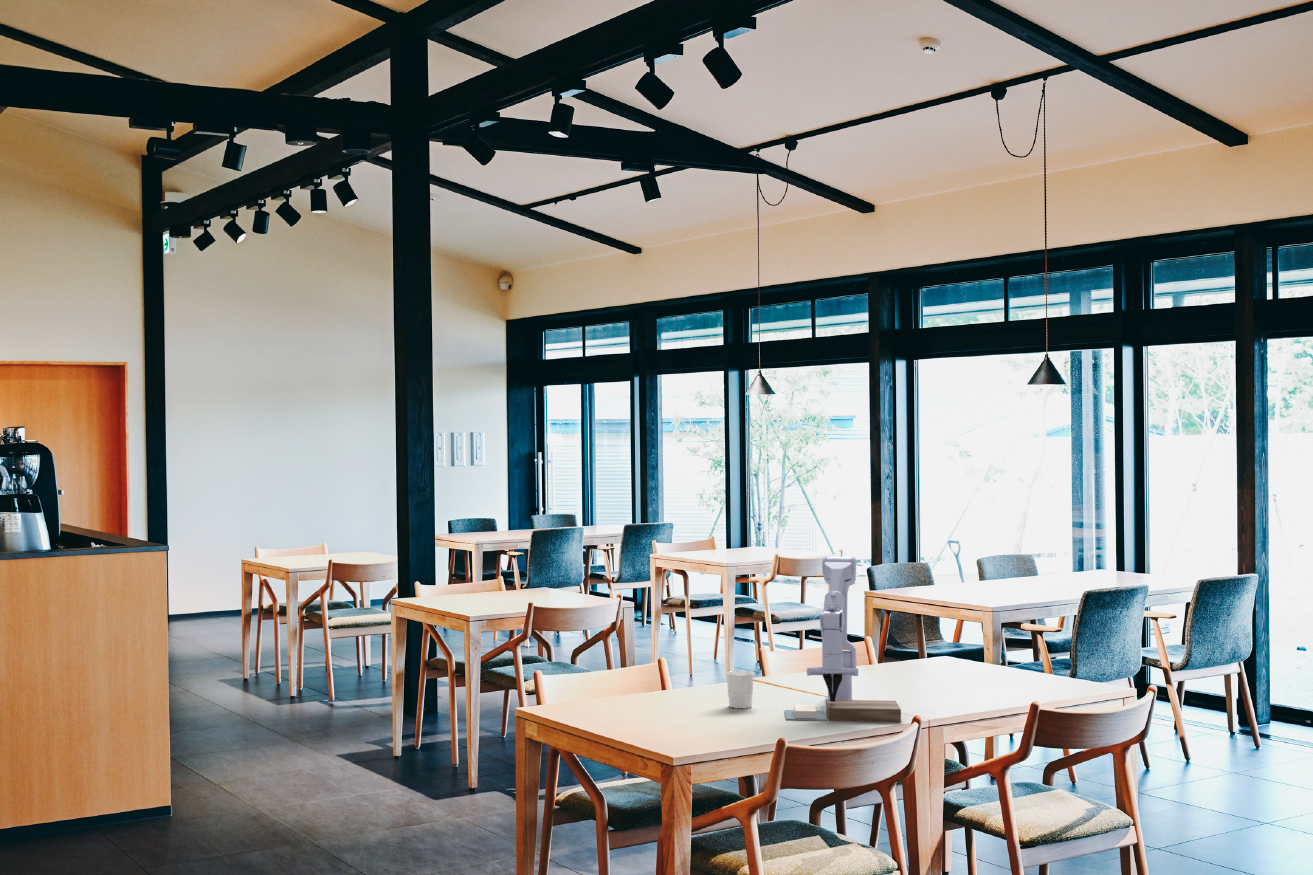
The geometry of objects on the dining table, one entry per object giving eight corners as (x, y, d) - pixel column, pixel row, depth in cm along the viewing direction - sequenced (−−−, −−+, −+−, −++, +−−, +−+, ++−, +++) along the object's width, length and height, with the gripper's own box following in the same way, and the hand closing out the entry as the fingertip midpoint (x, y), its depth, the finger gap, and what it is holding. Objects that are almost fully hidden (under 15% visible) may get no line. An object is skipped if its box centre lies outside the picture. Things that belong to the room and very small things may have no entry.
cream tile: (814, 704, 338) (815, 711, 338) (794, 704, 338) (794, 711, 338) (816, 711, 329) (816, 718, 329) (795, 710, 329) (795, 717, 329)
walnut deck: (826, 711, 339) (826, 699, 339) (895, 712, 337) (895, 700, 337) (828, 720, 327) (828, 708, 327) (900, 721, 325) (900, 709, 325)
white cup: (738, 710, 341) (738, 676, 342) (721, 705, 348) (721, 672, 348) (759, 706, 346) (758, 673, 346) (741, 702, 352) (741, 669, 353)
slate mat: (784, 711, 340) (784, 709, 340) (824, 711, 339) (824, 710, 339) (785, 720, 328) (785, 718, 328) (827, 720, 327) (827, 719, 327)
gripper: (807, 655, 330) (807, 703, 329) (859, 655, 329) (859, 703, 328) (806, 651, 337) (806, 698, 336) (856, 651, 336) (857, 698, 335)
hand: (832, 700), depth 333 cm, fingers closed
